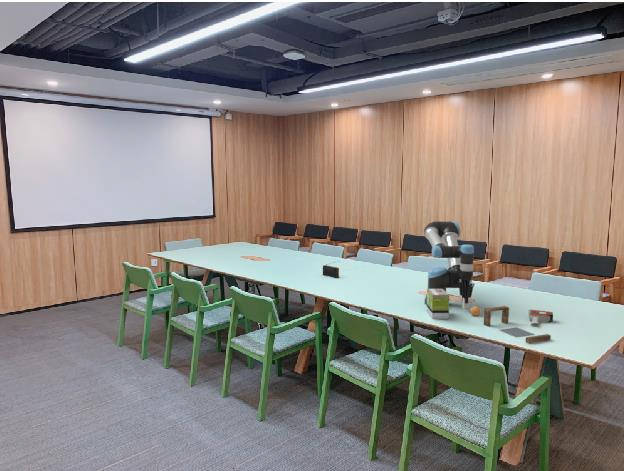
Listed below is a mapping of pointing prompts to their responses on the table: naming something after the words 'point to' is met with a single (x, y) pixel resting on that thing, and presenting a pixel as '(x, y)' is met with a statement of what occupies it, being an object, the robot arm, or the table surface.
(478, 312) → the ball
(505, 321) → the bridge
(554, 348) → the table surface
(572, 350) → the table surface
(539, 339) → the brown wooden bar
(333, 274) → the radio
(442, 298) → the tea box
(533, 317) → the tape dispenser
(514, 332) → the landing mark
